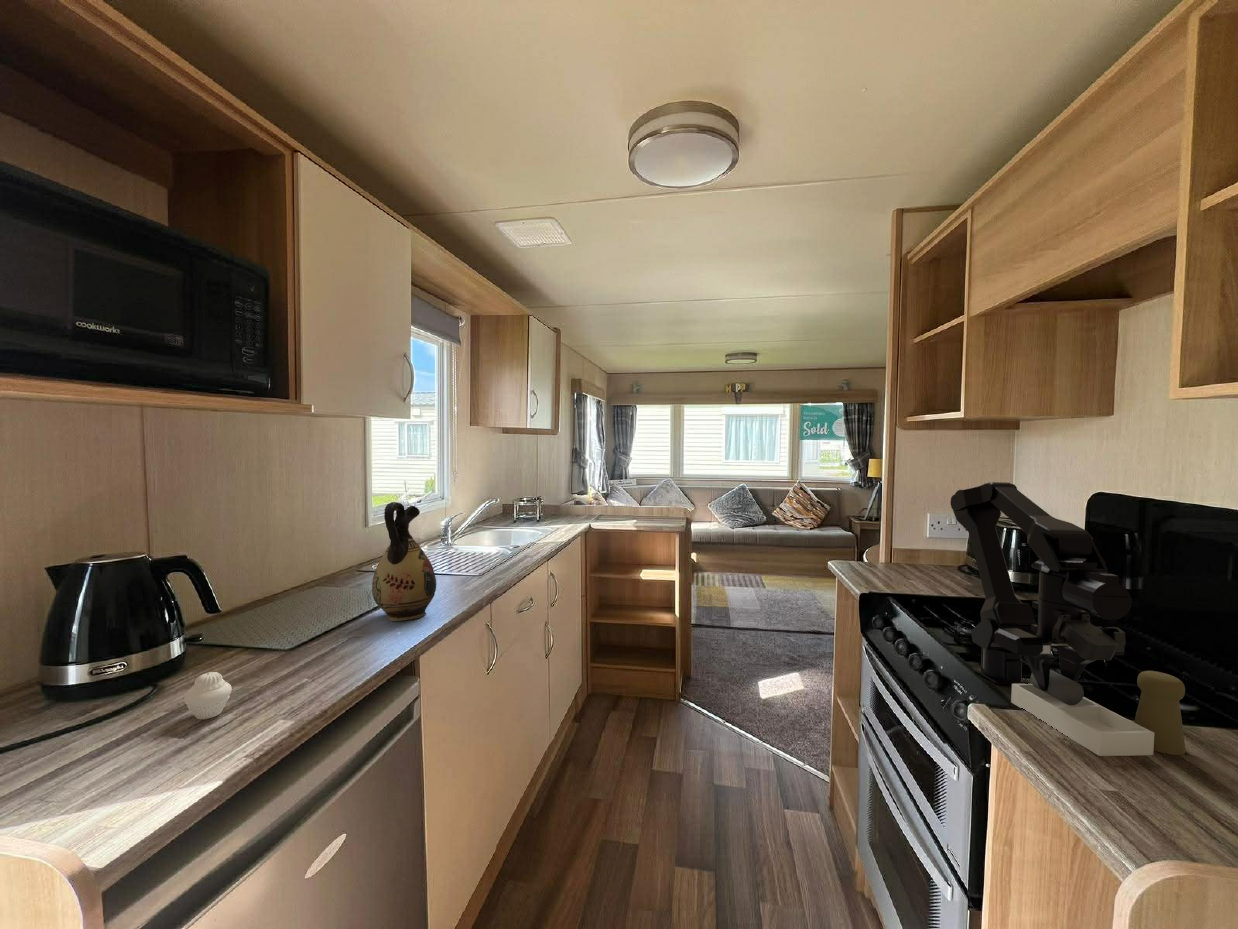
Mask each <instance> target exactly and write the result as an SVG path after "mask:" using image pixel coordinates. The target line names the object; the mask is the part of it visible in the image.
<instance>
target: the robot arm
mask: <svg viewBox="0 0 1238 929" xmlns="http://www.w3.org/2000/svg"><path fill="white" fill-rule="evenodd" d="M949 503H950V507H951V509H952V512H953V514H954V516H955V519H956V521H957V522H958V523H959V524H960V525H961V526H962V527H963V529H965V530H966V531H967V532H968V536H969V540H970V544H971V547H972V551H973V554H974V560H975V563H976V567H977V570H978V573H979V574H978V575H979V578H980V581H981V586H982V590H983V593H984V598H985V600H984V603H983V604H982V608H981V610H980V612H979V613H980V614H979V615H980V620H981V621H980V622H979V623H978V624H977V625H976V626H975V627H973V629H971V630H970V632H971V633H970V634H971V639H972V640H971V641H972V643H974V644H975V645H977V646H978V647H981V655H980V656H981V657H980V658H981V659H980V660H981V661H980V667H973V671H974V672H976V673H977V674H979V675H981V676H983V677H984V678H986V679H987V680H989V681H991V682H993V683H994V684H997V685H1012V684H1025V683H1028V684H1029V682H1028V680H1026V679H1025V678H1024V677H1022V673H1023V672H1022V670H1023V669H1022V668H1023V661H1022V657H1023V658H1024V660H1025V661H1026V663H1027V665H1028V667H1029V669H1030V671H1031V674H1032V673H1033V675H1034V677H1035V679H1036V681H1037V684H1038V686H1039V688H1040V689H1041V690H1043V691H1045V692H1047V690H1048V686H1049V677H1050V670H1051V667H1052V666H1051V664H1052V663H1054V662H1055V661H1057V660H1059V661H1058V662H1059V669H1060V674H1061V675H1063V676H1065V677H1067V678H1069V679H1071V680H1073V681H1075V682H1077V683H1078V680H1079V679H1080V676H1082V675H1081V674H1082V673H1083V672H1084V670H1085V669H1086V667H1087V665H1088V664H1090V663H1093V662H1095V661H1097V660H1098V661H1103V660H1105V661H1106V662H1107V661H1108V662H1109V661H1111V660H1112V658H1113V657H1114V656H1125V646H1126V644H1127V641H1126V632H1125V631H1124V630H1122V629H1121V628H1119V627H1118V626H1117V627H1116V626H1112V627H1111V626H1109V627H1108V626H1106V627H1104V628H1103V627H1102V626H1096V625H1094V624H1092V623H1091V615H1093V616H1096V617H1099V618H1102V619H1104V620H1108V621H1116V620H1120V619H1122V618H1124V617H1125V616H1127V615H1128V614H1129V613H1130V611H1131V608H1132V606H1133V598H1132V596H1131V593H1130V592H1129V590H1128V589H1127V588H1126V587H1125V586H1123V585H1122V584H1120V583H1119V582H1120V581H1119V578H1120V577H1119V576H1118V575H1116V574H1113V573H1109V569H1108V566H1107V565H1106V564H1107V562H1106V561H1105V560H1104V558H1103V556H1102V555H1101V554H1100V551H1099V548H1097V546H1096V545H1097V544H1096V543H1095V541H1094V539H1093V537H1092V535H1091V534H1090V532H1088V530H1086V529H1085V528H1082V527H1080V526H1078V525H1076V524H1074V523H1072V522H1069V521H1066V520H1062V519H1058V518H1055V517H1054V516H1052V515H1051V514H1049V513H1048V512H1047V511H1045V510H1044V509H1042V508H1041V506H1039V505H1038V504H1036V503H1035V502H1034V501H1033V500H1032V499H1030V498H1028V496H1026V495H1025V494H1024V493H1022V492H1021V491H1019V490H1018V487H1017V486H1016V484H1014V483H1011V482H999V481H997V482H995V481H989V482H987V483H986V482H985V483H983V484H981V485H978V486H975V487H972V488H966V489H958V490H957V491H956V492H955V493H954V494H952V496H951V497H950V502H949ZM1002 514H1003V515H1005V516H1006V517H1007V518H1008V519H1009V520H1010V521H1011V522H1013V524H1014V525H1016V526H1017V527H1019V529H1021V530H1022V532H1024V533H1025V535H1026V537H1027V541H1026V543H1027V545H1028V546H1029V547H1030V549H1031V550H1032V551H1033V552H1034V553H1035V555H1036V556H1037V557H1038V558H1039V559H1038V560H1036V561H1034V562H1033V563H1031V568H1033V569H1035V570H1039V580H1038V582H1039V583H1038V599H1037V601H1031V605H1030V603H1026V602H1022V601H1021V600H1020V599H1019V598H1018V597H1017V596H1016V594H1015V591H1014V587H1013V584H1012V580H1011V575H1010V573H1009V570H1008V565H1007V562H1006V559H1005V556H1004V552H1003V548H1002V545H1001V542H1000V541H1001V540H1000V537H999V534H998V531H997V525H998V523H999V521H1000V519H1001V516H1002ZM1033 608H1034V609H1036V610H1037V619H1035V616H1034V612H1033ZM1090 614H1091V615H1090ZM1036 620H1037V621H1036ZM1052 647H1053V648H1057V654H1058V657H1057V656H1054V654H1051V653H1052V652H1051V651H1052V650H1051V649H1052Z"/></svg>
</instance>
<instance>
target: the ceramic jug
mask: <svg viewBox="0 0 1238 929" xmlns="http://www.w3.org/2000/svg"><path fill="white" fill-rule="evenodd" d="M420 513H421V511H420V509H419V508H418V507H417V506H415V505H410V506H408V507H406V508H405V506H404V505H403V504H402V503H401V502H397V501H391V502H390V503H387V504H386V505H385V507H384V512H383V514H384V518H383V519H384V523H385V525H386V526H385V527H386V530H387V533H388V539H389V540H390V541H389V542H390V543H389V545H388V547H386V549H385V551H384V553H383V554H382V556H381V558H380V560H379V561H378V563H377V565H376V568H375V570H374V573H373V575H372V576H373V577H372V582H371V591H372V592H371V593H372V597H373V601H374V603H375V604H376V606H378V607H379V609H381V610H382V611H383V612H384V614H385V615H386V617H387V619H388V620H389V621H392V622H397V621H398V622H399V621H407V620H415V619H420V618H421V617H423V616H426V615H427V613H426V609H427V608H428V607H429V605H430V604H431V602H432V601H433V599H434V597H435V595H436V590H437V578H436V573H435V570H434V567H433V564H432V563H431V561H430V559H429V557H428V556H427V555H426V552H424V550H423V549H422V548H421V546H420V545H419V543H418V542H416V541H415V540H416V539H414V538H413V536H412V534H411V533H410V530H409V528H410V523H411V522H412V521H413V520H414V519H415V518H417V517H418V516H419V515H420ZM395 515H396V516H395Z"/></svg>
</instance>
